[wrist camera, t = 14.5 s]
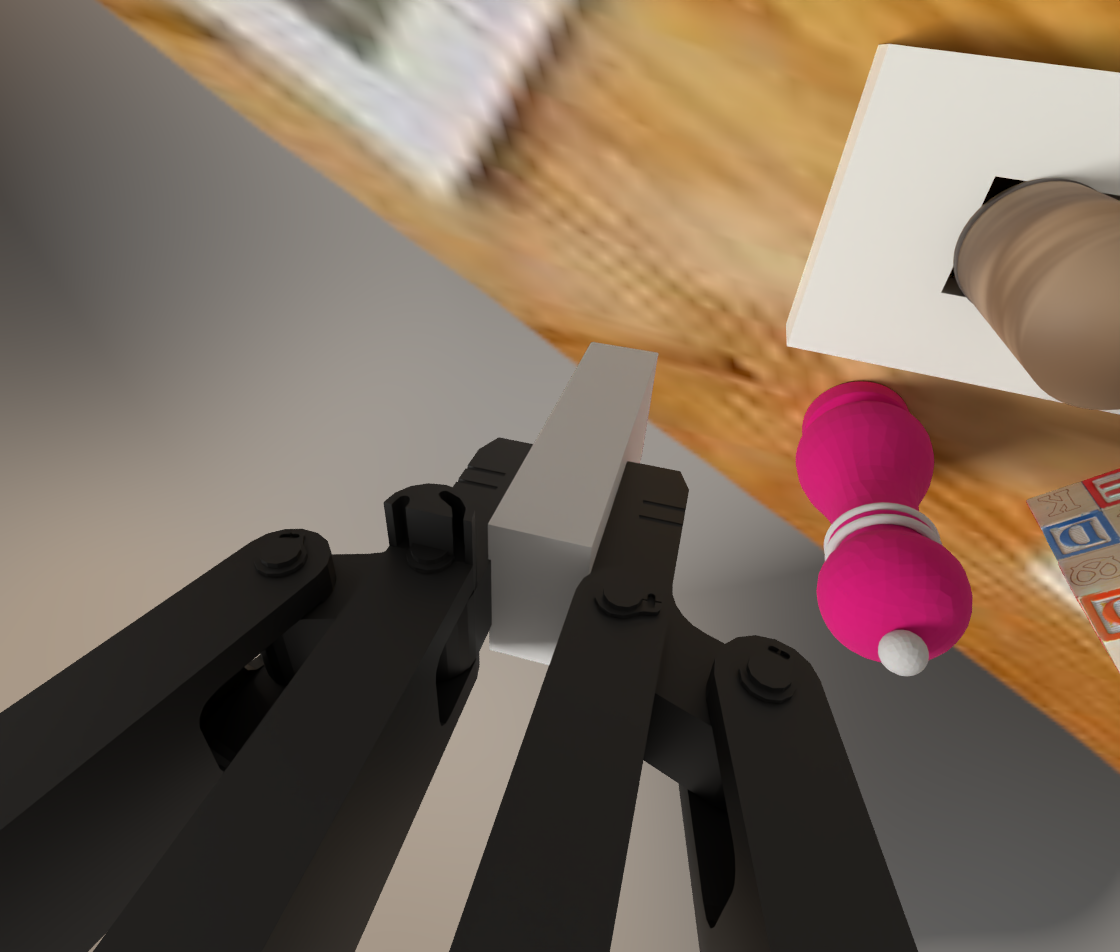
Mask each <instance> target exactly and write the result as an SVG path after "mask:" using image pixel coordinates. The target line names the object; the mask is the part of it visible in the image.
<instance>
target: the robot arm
mask: <svg viewBox="0 0 1120 952" xmlns="http://www.w3.org/2000/svg"><path fill="white" fill-rule="evenodd" d="M657 358H658V353H656V352H650V351H644V350H637V349H631V348H625V347H619V346H613V345H607V344H601V343H595V342H591V344H590V345H589V347H588V349H587V351H586V352H585V354H584V356H583V358H582V359H581V361H580V363H579V365H578V367H577V368H576V370H575V372H574V374H573V375H572V377H571V379H570V381H569V382H568V384H567V386H566V388H565V389H564V391H563V393H562V395H561V396H560V398H559V400H558V402H557V403H556V405H555V407H554V409H553V411H552V412H551V414H550V416H549V418H548V419H547V421H546V423H545V425H544V426H543V428H542V430H541V432H540V433H539V435H538V437H537V439H536V440H535V442H534V444H529V443H524V442H519V441H514V440H509V439H504V438H497V439H496V440H494V441H492V442H490V443H489V444H487V445H485V446H484V447H482V448H480V449H479V450H478V452H477V453H476V454H475V456H474V457H473V459H472V460H471V461H470V463H469V464H468V468H467V469H465V470H464V472H463V473H462V475H461V476H460V477H459V481H458V482H456V483H455V485H454V486H453V487H450V486H447V485H440V484H423V485H415V486H410V487H408V488H405V489H403V490H400V491H398V492H396V493H394V494H393V495H392V496H391V497H389V498H388V499H387V500H386V501H385V502H384V509H385V516H386V523H387V531H388V537H389V545H390V546H389V547H388V549H387V550H386V551H385V552H382V553H373V554H342V555H341V554H336V555H332V554H331V550H330V547H329V544H328V541H327V540H326V539H324V538H323V537H322V536H321V535H319V534H318V533H316V532H312V531H308V530H304V529H284V530H280V531H276V532H272V533H268V534H265V535H264V536H262V537H260V538H258V539H256V540H254V541H252V542H250V543H249V544H247V545H246V546H244V547H243V548H241V549H240V550H238V551H237V552H235V553H234V554H232V555H231V556H230V557H228V558H227V559H225V560H224V561H222V562H221V563H219V564H218V565H216V566H215V567H213V568H212V569H211V570H209V571H208V572H206V573H205V574H203V575H202V576H200V577H199V578H197V579H196V580H194V581H193V582H192V583H190V584H189V585H187V586H186V587H184V588H183V589H182V590H180V591H179V592H177V593H175V594H174V595H173V596H171V597H170V598H168V599H167V600H165V601H164V602H162V603H161V604H159V605H158V606H156V607H155V608H154V609H152V610H150V611H149V612H148V613H146V614H145V615H143V616H142V617H140V618H139V619H137V620H136V621H135V622H133V623H131V624H130V625H129V626H127V627H126V628H124V629H123V630H121V631H120V632H118V633H117V634H115V635H114V636H112V637H111V638H110V639H108V640H107V641H105V642H104V643H102V644H101V645H99V646H98V647H96V648H95V649H93V650H92V651H90V652H89V653H88V654H86V655H85V656H83V657H82V658H80V659H79V660H77V661H76V662H74V663H73V664H71V665H70V666H69V667H67V668H66V669H64V670H63V671H61V672H60V673H58V674H57V675H55V676H54V677H52V678H51V679H50V680H48V681H47V682H45V683H44V684H42V685H41V686H39V687H38V688H36V689H35V690H33V691H32V692H31V693H29V694H28V695H26V696H25V697H23V698H22V699H20V700H19V701H17V702H16V703H14V704H13V705H11V706H10V707H9V708H7V709H6V710H4V711H3V712H1V713H0V952H88V951H89V950H90V949H91V948H92V947H93V946H94V945H95V944H96V943H97V942H98V941H99V940H100V939H101V938H102V937H103V936H104V935H105V934H106V935H105V936H104V937H103V938H102V940H101V941H100V943H99V944H98V945H97V947H96V948H95V950H94V951H93V952H355V950H356V948H357V945H358V943H359V941H360V939H361V936H362V934H363V932H364V930H365V927H366V925H367V923H368V921H369V918H370V916H371V914H372V911H373V910H374V907H375V905H376V903H377V901H378V898H379V896H380V894H381V892H382V889H383V887H384V885H385V883H386V880H387V878H388V876H389V874H390V871H391V869H392V867H393V865H394V863H395V860H396V858H397V856H398V854H399V851H400V849H401V847H402V844H403V842H404V840H405V838H406V836H407V833H408V831H409V829H410V827H411V824H412V822H413V820H414V818H415V815H416V813H417V811H418V809H419V807H420V804H421V802H422V800H423V797H424V795H425V793H426V791H427V789H428V786H429V784H430V782H431V780H432V777H433V775H434V773H435V770H436V769H437V766H438V764H439V762H440V759H441V757H442V755H443V752H444V751H445V748H446V746H447V744H448V742H449V739H450V737H451V735H452V733H453V730H454V728H455V726H456V724H457V722H458V719H459V717H460V715H461V713H462V710H463V708H464V706H465V704H466V701H467V699H468V697H469V695H470V692H471V690H472V688H473V686H474V683H475V681H476V679H477V675H478V670H479V651H480V649H481V647H482V645H483V642H484V640H485V638H486V636H487V634H488V632H489V639H490V641H489V643H490V650H493V651H497V652H501V653H505V654H508V655H512V656H516V657H520V658H523V659H527V660H531V661H535V662H539V663H542V664H547V665H549V667H548V670H547V673H546V676H545V679H544V682H543V684H542V687H541V690H540V693H539V696H538V699H537V702H536V705H535V708H534V710H533V713H532V716H531V719H530V722H529V725H528V728H527V730H526V733H525V736H524V739H523V742H522V745H521V747H520V750H519V753H518V756H517V759H516V762H515V765H514V768H513V771H512V773H511V776H510V779H509V782H508V785H507V788H506V791H505V793H504V796H503V799H502V802H501V805H500V808H499V810H498V813H497V816H496V819H495V822H494V825H493V828H492V830H491V833H490V836H489V839H488V842H487V845H486V848H485V850H484V853H483V856H482V859H481V862H480V865H479V868H478V871H477V873H476V876H475V879H474V882H473V885H472V888H471V891H470V894H469V897H468V899H467V902H466V905H465V908H464V911H463V913H462V917H461V919H460V922H459V925H458V928H457V931H456V933H455V936H454V940H453V942H452V945H451V948H450V951H449V952H610V947H611V941H612V935H613V930H614V924H615V919H616V913H617V907H618V901H619V896H620V890H621V884H622V879H623V873H624V867H625V861H626V855H627V849H628V844H629V838H630V833H631V827H632V821H633V816H634V810H635V804H636V799H637V793H638V787H639V781H640V775H641V770H642V764H643V760H644V761H646V762H647V763H649V764H650V765H652V766H653V767H655V768H656V769H658V770H659V771H661V772H662V773H664V774H665V775H667V776H668V777H670V778H671V779H673V780H675V781H676V782H678V783H679V791H680V799H681V807H682V815H683V822H684V830H685V838H686V845H687V854H688V862H689V870H690V877H691V886H692V893H693V901H694V908H695V917H696V924H697V933H698V941H699V948H700V952H918V950H917V947H916V945H915V942H914V939H913V936H912V934H911V931H910V928H909V925H908V922H907V920H906V917H905V914H904V911H903V909H902V906H901V903H900V900H899V897H898V895H897V892H896V889H895V886H894V884H893V881H892V878H891V875H890V873H889V870H888V867H887V864H886V862H885V859H884V856H883V853H882V850H881V848H880V845H879V842H878V839H877V836H876V834H875V831H874V828H873V825H872V823H871V820H870V817H869V814H868V812H867V809H866V806H865V803H864V801H863V798H862V795H861V792H860V789H859V787H858V784H857V781H856V778H855V775H854V773H853V770H852V767H851V764H850V762H849V759H848V756H847V753H846V750H845V748H844V745H843V742H842V739H841V737H840V734H839V731H838V728H837V726H836V723H835V720H834V717H833V715H832V712H831V709H830V706H829V703H828V701H827V698H826V695H825V692H824V690H823V687H822V684H821V681H820V679H819V678H818V676H817V674H816V672H815V671H814V669H813V667H812V666H811V664H810V663H809V662H808V661H807V660H806V659H805V658H804V657H803V656H801V655H800V654H799V653H798V652H797V651H796V650H795V649H793V648H791V647H789V646H787V645H785V644H783V643H781V642H779V641H777V640H775V639H770V638H766V637H760V636H756V635H755V636H746V637H737V638H735V639H733V640H731V641H730V642H728V643H726V644H724V643H722V642H720V641H719V640H717V639H715V638H713V637H711V636H709V635H707V634H706V633H704V632H702V631H701V630H699V629H698V628H696V627H695V626H693V625H692V624H691V623H690V622H689V621H688V620H687V619H686V618H685V617H684V616H683V615H682V614H681V612H680V610H679V609H678V608H677V606H676V604H675V601H674V598H673V595H672V584H673V578H674V573H675V567H676V561H677V555H678V549H679V544H680V538H681V532H682V526H683V521H684V515H685V509H686V503H687V498H688V492H689V489H688V487H687V485H686V483H685V481H684V478H683V476H682V474H681V472H680V471H675V470H670V469H665V468H660V467H655V466H650V465H645V464H640V460H641V457H642V451H643V445H644V439H645V432H646V426H647V420H648V414H649V408H650V401H651V395H652V389H653V383H654V376H655V370H656V364H657ZM259 654H260V655H259ZM258 655H259V656H258ZM257 656H258V657H257ZM255 657H257V658H255ZM254 658H255V659H254ZM253 659H254V660H253Z"/></svg>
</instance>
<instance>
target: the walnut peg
mask: <svg viewBox="0 0 1120 952" xmlns="http://www.w3.org/2000/svg"><path fill="white" fill-rule="evenodd" d="M953 269H954V274H955V279H956V281H957V284H958V286H959V288H960V289H961V291H962V293H963V294H964V295H965V296H966V297H967V299H968V300H969V301H970V302H971V303H973V305H974V306H975V307H976V308H977V310H978V311H979V312H980V313H981V315H982V316H983V317H984V318H985V320H986V321H987V322H988V323H989V325H990V326H991V327H992V329H993V330H994V331H995V332H996V334H997V335H998V336H999V337H1000V339H1001V340H1002V341H1003V342H1004V344H1005V345H1006V346H1007V347H1008V349H1009V350H1010V351H1011V353H1012V354H1013V355H1014V356H1015V358H1016V359H1017V360H1018V361H1019V363H1020V364H1021V365H1022V366H1023V368H1024V369H1025V370H1026V371H1027V373H1028V374H1029V375H1030V377H1031V378H1032V379H1033V380H1034V382H1035V383H1036V384H1037V385H1038V386H1039V387H1040V388H1041V389H1042V390H1043V391H1044V392H1046V393H1047V394H1048V395H1049V396H1051V397H1053V398H1055V399H1056V400H1058V401H1061V402H1063V403H1065V404H1068V405H1071V406H1075V407H1079V408H1085V409H1091V410H1118V409H1120V201H1119V200H1117V199H1114V198H1112V197H1110V196H1107V195H1105V194H1103V193H1100V192H1098V191H1096V190H1095V189H1093V188H1091V187H1090V186H1087V185H1085V184H1083V183H1080V182H1077V181H1074V180H1070V179H1063V178H1042V179H1035V180H1030V181H1027V182H1023V183H1020V184H1017V185H1015V186H1012V187H1010V188H1008V189H1006V190H1004V191H1002V192H1000V193H999V194H997V195H996V196H994V197H993V198H991V199H990V200H989V201H987V202H986V203H985V204H984V205H983V206H981V207H980V208H979V209H978V210H977V211H976V212H975V214H974V215H973V216H972V217H971V218H970V219H969V221H968V222H967V224H966V225H965V227H964V228H963V230H962V232H961V234H960V236H959V238H958V241H957V243H956V247H955V251H954V257H953Z"/></svg>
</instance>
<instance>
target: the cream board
mask: <svg viewBox="0 0 1120 952" xmlns="http://www.w3.org/2000/svg"><path fill="white" fill-rule="evenodd" d="M995 176H997V177H1003V178H1009V179H1016V180H1022V181H1030V180H1035V179H1042V178H1063V179H1070V180H1074V181H1077V182H1080V183H1083V184H1085V185H1087V186H1090V187H1091V188H1093V189H1095V190H1096V191H1098V192H1100V193H1103V194H1105V195H1107V196H1110V197H1112V198H1114V199H1117V200H1119V201H1120V73H1118V72H1110V71H1102V70H1094V69H1086V68H1078V67H1070V66H1062V65H1054V64H1046V63H1038V62H1030V61H1022V60H1014V59H1006V58H998V57H990V56H982V55H974V54H966V53H958V52H950V51H942V50H934V49H926V48H918V47H910V46H902V45H895V44H882V45H878V48H877V51H876V54H875V57H874V60H873V63H872V66H871V69H870V72H869V75H868V78H867V81H866V84H865V87H864V90H863V93H862V96H861V99H860V102H859V105H858V109H857V112H856V115H855V118H854V121H853V124H852V127H851V130H850V133H849V136H848V139H847V142H846V145H845V148H844V151H843V154H842V157H841V160H840V163H839V166H838V169H837V172H836V175H835V178H834V181H833V184H832V187H831V190H830V193H829V196H828V199H827V202H826V205H825V208H824V211H823V214H822V217H821V220H820V223H819V226H818V229H817V233H816V236H815V239H814V242H813V245H812V248H811V251H810V254H809V257H808V260H807V263H806V266H805V269H804V272H803V275H802V278H801V281H800V284H799V287H798V290H797V293H796V296H795V299H794V302H793V305H792V308H791V311H790V314H789V317H788V320H787V323H786V335H787V346H790V347H794V348H799V349H804V350H809V351H814V352H819V353H824V354H828V355H833V356H838V357H843V358H848V359H853V360H858V361H862V362H867V363H872V364H877V365H882V366H887V367H891V368H896V369H901V370H906V371H911V372H916V373H921V374H925V375H930V376H935V377H940V378H945V379H950V380H955V381H959V382H964V383H969V384H974V385H979V386H984V387H988V388H993V389H998V390H1003V391H1008V392H1013V393H1018V394H1022V395H1027V396H1032V397H1037V398H1042V399H1047V400H1052V401H1056V402H1061V401H1058V400H1056V399H1055V398H1053V397H1051V396H1049V395H1048V394H1047V393H1046V392H1044V391H1043V390H1042V389H1041V388H1040V387H1039V386H1038V385H1037V384H1036V383H1035V382H1034V380H1033V379H1032V378H1031V377H1030V375H1029V374H1028V373H1027V371H1026V370H1025V369H1024V368H1023V366H1022V365H1021V364H1020V363H1019V361H1018V360H1017V359H1016V358H1015V356H1014V355H1013V354H1012V353H1011V351H1010V350H1009V349H1008V347H1007V346H1006V345H1005V344H1004V342H1003V341H1002V340H1001V339H1000V337H999V336H998V335H997V334H996V332H995V331H994V330H993V329H992V327H991V326H990V325H989V323H988V322H987V321H986V320H985V318H984V317H983V316H982V315H981V313H980V312H979V311H978V310H977V308H976V307H975V306H974V305H973V303H971V302H970V301H969V300H968V299H967V297H966V296H965V295H964V294H963V293H962V291H961V289H960V288H959V286H958V284H957V281H956V279H955V278H950V277H949V275H950V272H951V270H952V268H953V257H954V251H955V247H956V243H957V241H958V238H959V236H960V234H961V232H962V230H963V228H964V227H965V225H966V224H967V222H968V221H969V219H970V218H971V217H972V216H973V215H974V214H975V212H976V211H977V210H978V209H979V208H980V207H981V206H982V204H983V202H984V199H985V197H986V195H987V193H988V191H989V189H990V187H991V184H992V182H993V180H994V178H995ZM1061 403H1063V402H1061ZM1100 411H1105V412H1110V413H1115V414H1119V415H1120V409H1118V410H1100Z"/></svg>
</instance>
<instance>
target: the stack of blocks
mask: <svg viewBox="0 0 1120 952" xmlns="http://www.w3.org/2000/svg"><path fill="white" fill-rule="evenodd" d="M1026 502H1027V504H1028V506H1029V508H1030V510H1031V512H1032V514H1033V515H1034V517H1035V519H1036V521H1037V523H1038V524H1039V526H1040V528H1041V530H1042V532H1043V534H1044V536H1045V538H1046V540H1047V542H1048V543H1049V545H1050V547H1051V549H1052V551H1053V553H1054V555H1055V557H1056V559H1057V561H1058V565H1059V567H1060V569H1061V571H1062V573H1063V575H1064V576H1065V578H1066V580H1067V582H1068V584H1069V586H1070V588H1071V590H1072V592H1073V593H1074V595H1075V597H1076V599H1077V601H1078V602H1079V604H1080V606H1081V607H1082V609H1083V611H1084V612H1085V614H1086V616H1087V618H1088V619H1089V621H1090V623H1091V625H1092V627H1093V629H1094V631H1095V632H1096V634H1097V636H1098V638H1099V639H1100V641H1101V643H1102V645H1103V646H1104V648H1105V650H1106V651H1107V653H1108V655H1109V656H1110V658H1111V660H1112V661H1113V663H1114V665H1115V666H1116V668H1117V670H1118V671H1119V673H1120V469H1117V470H1114V471H1111V472H1108V473H1105V474H1102V475H1099V476H1096V477H1093V478H1090V479H1087V480H1084V481H1082V482H1078V483H1074V484H1071V485H1069V486H1066V487H1063V488H1060V489H1057V490H1054V491H1051V492H1048V493H1045V494H1042V495H1039V496H1036V497H1033V498H1030V499H1028V500H1026Z"/></svg>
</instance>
